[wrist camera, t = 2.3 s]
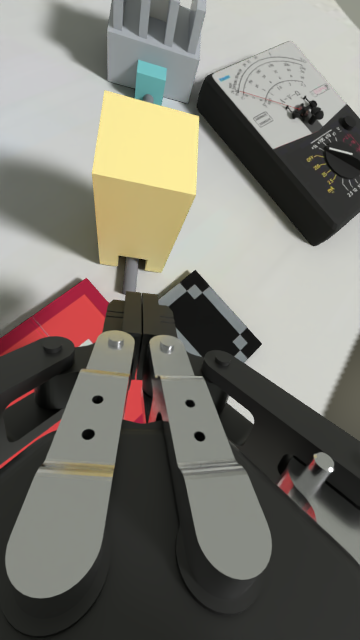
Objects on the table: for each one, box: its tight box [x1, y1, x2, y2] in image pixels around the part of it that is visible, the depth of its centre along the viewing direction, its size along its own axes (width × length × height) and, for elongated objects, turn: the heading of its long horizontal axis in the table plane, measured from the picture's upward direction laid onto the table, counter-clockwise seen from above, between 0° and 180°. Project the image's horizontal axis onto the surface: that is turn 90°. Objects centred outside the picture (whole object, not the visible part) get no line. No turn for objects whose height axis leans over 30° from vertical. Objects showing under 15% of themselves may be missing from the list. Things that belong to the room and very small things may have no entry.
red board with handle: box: [0, 270, 262, 469], centre depth 19 cm, size 30×3×15 cm
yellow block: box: [92, 91, 199, 273], centre depth 19 cm, size 5×5×10 cm
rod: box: [123, 60, 167, 294], centre depth 25 cm, size 28×3×3 cm, turn 177°
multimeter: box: [197, 41, 360, 246], centre depth 29 cm, size 13×19×5 cm
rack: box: [107, 0, 206, 104], centre depth 25 cm, size 6×8×7 cm
